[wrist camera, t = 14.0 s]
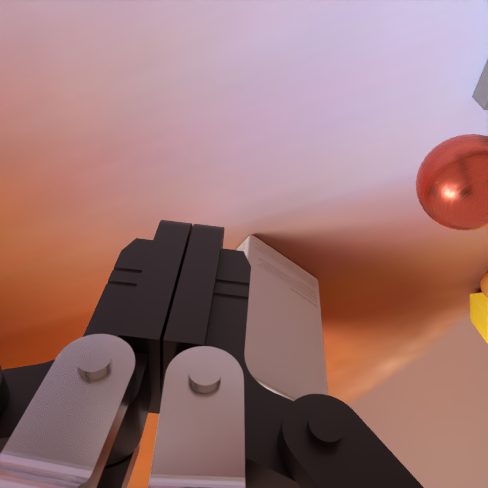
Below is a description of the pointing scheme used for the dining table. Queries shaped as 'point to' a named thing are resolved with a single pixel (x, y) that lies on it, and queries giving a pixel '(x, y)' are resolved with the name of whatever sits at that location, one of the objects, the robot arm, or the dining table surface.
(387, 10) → the dining table surface
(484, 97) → the press
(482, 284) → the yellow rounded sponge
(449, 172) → the lever
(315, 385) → the supplement box
